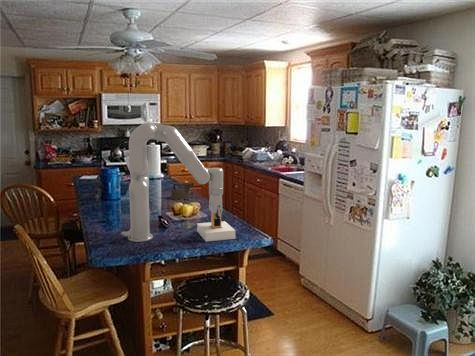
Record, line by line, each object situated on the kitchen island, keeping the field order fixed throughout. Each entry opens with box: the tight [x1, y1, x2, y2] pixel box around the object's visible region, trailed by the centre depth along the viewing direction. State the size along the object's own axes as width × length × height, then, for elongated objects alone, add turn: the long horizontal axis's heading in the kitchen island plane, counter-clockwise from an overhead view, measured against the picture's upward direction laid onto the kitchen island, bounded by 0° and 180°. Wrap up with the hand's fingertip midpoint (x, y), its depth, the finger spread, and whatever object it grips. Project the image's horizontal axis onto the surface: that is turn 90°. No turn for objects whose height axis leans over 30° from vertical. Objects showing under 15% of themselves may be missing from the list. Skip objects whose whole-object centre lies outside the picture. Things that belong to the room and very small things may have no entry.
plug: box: [210, 211, 222, 229], centre depth 214 cm, size 4×4×10 cm
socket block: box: [196, 220, 236, 243], centre depth 215 cm, size 16×18×4 cm
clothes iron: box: [171, 181, 195, 201], centre depth 297 cm, size 8×16×13 cm, turn 72°
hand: (216, 224), depth 214 cm, fingers closed on plug, 4 cm apart
